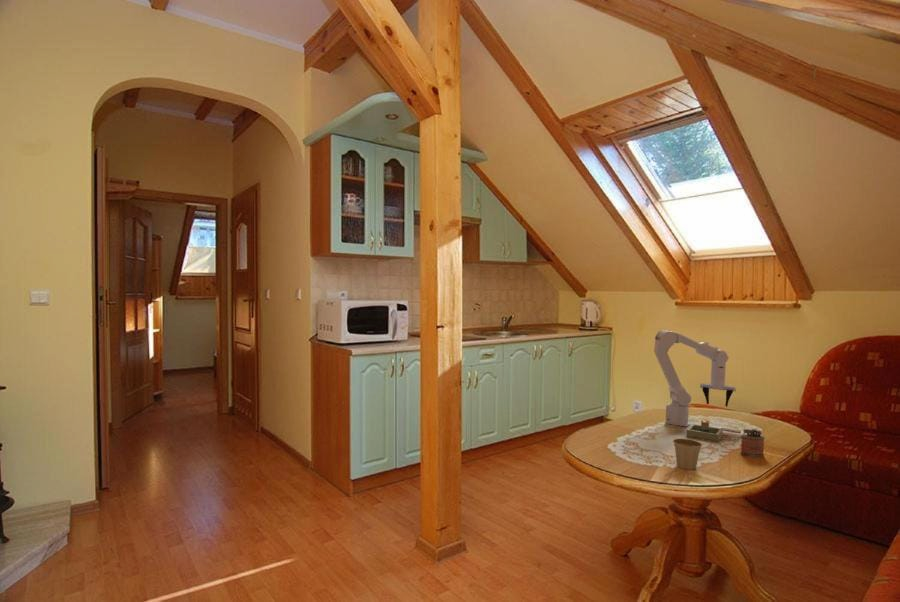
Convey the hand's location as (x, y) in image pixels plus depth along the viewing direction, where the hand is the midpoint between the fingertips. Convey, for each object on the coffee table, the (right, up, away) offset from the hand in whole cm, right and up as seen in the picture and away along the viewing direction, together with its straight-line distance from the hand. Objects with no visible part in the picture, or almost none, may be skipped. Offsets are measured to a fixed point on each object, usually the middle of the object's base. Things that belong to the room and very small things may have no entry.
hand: (717, 405), depth 236 cm
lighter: (-10, -10, -44) cm, 46 cm away
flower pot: (-41, -10, -58) cm, 72 cm away
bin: (-15, -9, -19) cm, 26 cm away
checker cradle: (-1, -10, -13) cm, 16 cm away
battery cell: (-15, -9, -19) cm, 25 cm away
